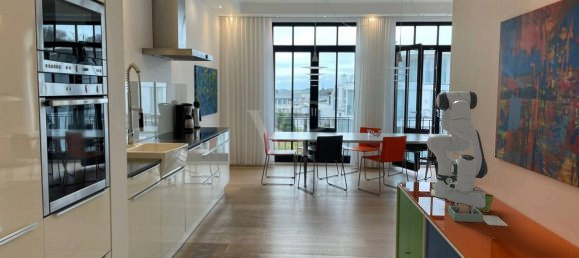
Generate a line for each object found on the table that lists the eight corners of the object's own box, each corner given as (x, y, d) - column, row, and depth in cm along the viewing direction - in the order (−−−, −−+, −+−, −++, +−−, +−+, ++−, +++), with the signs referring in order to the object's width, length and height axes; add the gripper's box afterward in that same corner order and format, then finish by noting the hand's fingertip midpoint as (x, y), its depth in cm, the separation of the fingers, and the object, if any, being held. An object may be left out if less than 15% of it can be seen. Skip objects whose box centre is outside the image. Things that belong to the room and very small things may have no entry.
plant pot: (495, 213, 227) (496, 197, 226) (477, 212, 229) (477, 197, 228) (491, 208, 236) (491, 193, 235) (473, 207, 238) (473, 192, 237)
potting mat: (479, 215, 223) (479, 215, 223) (496, 216, 222) (496, 215, 222) (488, 224, 208) (488, 224, 208) (507, 225, 206) (507, 225, 206)
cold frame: (447, 212, 228) (448, 205, 227) (474, 214, 226) (475, 206, 225) (453, 220, 214) (454, 213, 214) (482, 222, 212) (483, 214, 212)
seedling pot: (457, 215, 223) (457, 201, 222) (469, 216, 222) (469, 202, 222) (460, 218, 217) (460, 204, 217) (472, 219, 216) (472, 205, 216)
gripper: (488, 189, 212) (487, 216, 213) (452, 182, 228) (451, 206, 229) (482, 191, 208) (480, 218, 209) (445, 183, 224) (444, 208, 226)
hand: (464, 212), depth 220 cm, fingers closed on seedling pot, 6 cm apart
